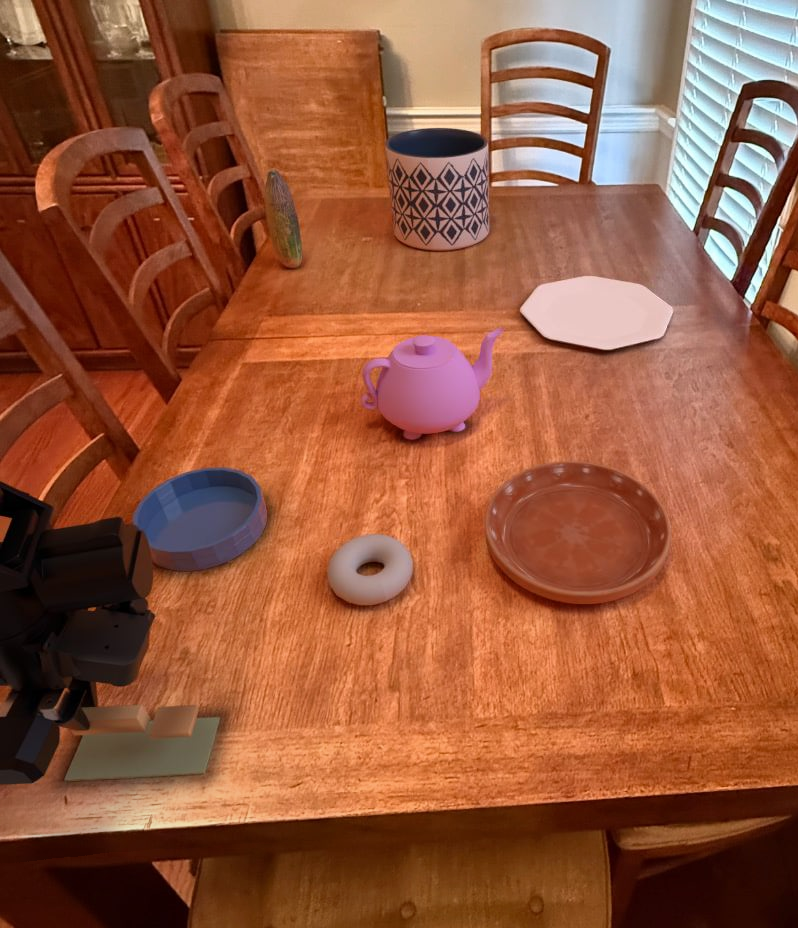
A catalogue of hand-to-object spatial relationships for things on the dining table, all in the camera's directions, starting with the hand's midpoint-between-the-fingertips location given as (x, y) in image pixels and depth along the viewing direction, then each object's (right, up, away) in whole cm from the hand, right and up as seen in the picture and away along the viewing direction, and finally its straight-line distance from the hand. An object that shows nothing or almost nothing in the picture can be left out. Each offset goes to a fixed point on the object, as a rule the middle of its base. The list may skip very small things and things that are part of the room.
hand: (87, 720), depth 62 cm
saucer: (+46, +13, +25) cm, 54 cm away
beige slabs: (+3, -1, +1) cm, 4 cm away
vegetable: (-9, +66, +87) cm, 109 cm away
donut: (+22, +9, +20) cm, 31 cm away
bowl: (-1, +15, +27) cm, 31 cm away
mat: (+3, -4, +4) cm, 6 cm away
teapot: (+27, +30, +45) cm, 61 cm away
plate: (+54, +51, +71) cm, 103 cm away
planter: (+22, +77, +101) cm, 129 cm away
